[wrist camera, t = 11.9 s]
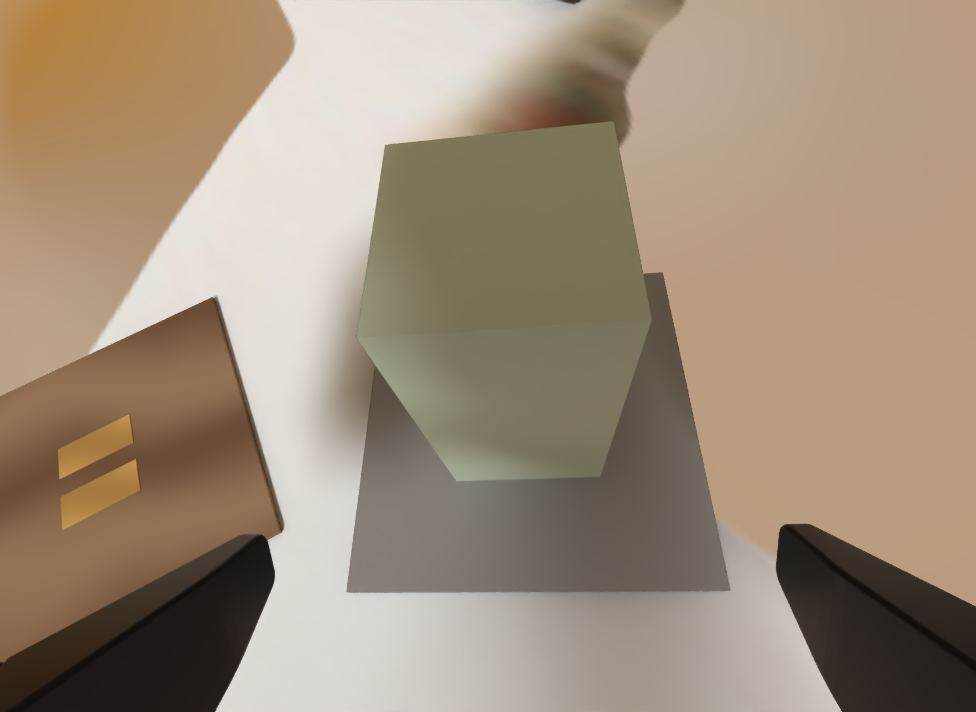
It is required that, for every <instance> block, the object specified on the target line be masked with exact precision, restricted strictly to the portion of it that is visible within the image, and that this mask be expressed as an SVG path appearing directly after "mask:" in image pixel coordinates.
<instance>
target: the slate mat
mask: <svg viewBox="0 0 976 712" xmlns="http://www.w3.org/2000/svg"><path fill="white" fill-rule="evenodd" d="M643 276H644V281H645V287H646V292H647V297H648V302H649V307H650V313H651V318H652V320H651V324H650V327H649V330H648V333H647V336H646V339H645V342H644V345H643V348H642V351H641V354H640V357H639V360H638V363H637V366H636V369H635V372H634V375H633V378H632V381H631V385H630V388H629V391H628V394H627V397H626V400H625V403H624V406H623V409H622V412H621V415H620V418H619V421H618V424H617V427H616V430H615V433H614V436H613V439H612V442H611V446H610V449H609V452H608V455H607V458H606V461H605V464H604V467H603V470H602V473H601V476H600V477H581V478H548V479H515V480H482V481H456V480H455V479H454V477H453V476H452V474H451V473H450V471H449V470H448V469H447V467H446V466H445V464H444V463H443V461H442V460H441V459H440V457H439V456H438V454H437V453H436V451H435V450H434V449H433V447H432V446H431V444H430V443H429V441H428V440H427V439H426V437H425V436H424V434H423V433H422V431H421V430H420V429H419V427H418V426H417V424H416V423H415V421H414V420H413V418H412V417H411V416H410V414H409V413H408V411H407V410H406V408H405V407H404V406H403V404H402V403H401V401H400V400H399V398H398V397H397V396H396V394H395V393H394V391H393V390H392V388H391V387H390V386H389V384H388V383H387V381H386V380H385V378H384V377H383V376H382V374H381V373H380V371H379V370H378V368H377V367H376V366H375V370H374V378H373V386H372V394H371V402H370V409H369V417H368V425H367V433H366V441H365V449H364V457H363V465H362V473H361V481H360V489H359V497H358V505H357V512H356V520H355V528H354V536H353V544H352V552H351V560H350V568H349V576H348V584H347V592H349V593H402V592H618V591H729V590H730V585H729V581H728V576H727V571H726V567H725V562H724V557H723V553H722V548H721V543H720V539H719V534H718V529H717V525H716V520H715V515H714V511H713V506H712V501H711V497H710V492H709V487H708V483H707V478H706V473H705V469H704V464H703V459H702V454H701V450H700V445H699V441H698V436H697V431H696V426H695V422H694V417H693V412H692V408H691V403H690V398H689V394H688V389H687V384H686V380H685V375H684V370H683V366H682V361H681V356H680V352H679V347H678V343H677V337H676V333H675V328H674V323H673V319H672V315H671V309H670V305H669V300H668V295H667V291H666V286H665V281H664V277H663V273H648V274H643Z"/></svg>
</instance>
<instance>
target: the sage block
mask: <svg viewBox="0 0 976 712" xmlns="http://www.w3.org/2000/svg"><path fill="white" fill-rule="evenodd" d="M651 320H652V318H651V313H650V307H649V302H648V297H647V292H646V287H645V281H644V276H643V271H642V266H641V261H640V255H639V250H638V245H637V240H636V235H635V229H634V225H633V219H632V214H631V208H630V203H629V198H628V193H627V187H626V183H625V177H624V172H623V167H622V161H621V156H620V151H619V146H618V141H617V135H616V130H615V125H614V121H610V122H601V123H591V124H582V125H572V126H562V127H553V128H543V129H534V130H524V131H514V132H505V133H495V134H485V135H476V136H466V137H457V138H447V139H437V140H428V141H418V142H409V143H399V144H389V145H385V149H384V156H383V163H382V169H381V176H380V183H379V189H378V196H377V203H376V209H375V216H374V223H373V230H372V236H371V243H370V250H369V256H368V263H367V270H366V276H365V283H364V290H363V296H362V303H361V310H360V316H359V323H358V330H357V336H356V338H357V340H358V341H359V343H360V344H361V345H362V347H363V348H364V350H365V351H366V353H367V354H368V355H369V357H370V358H371V360H372V361H373V363H374V364H375V366H376V367H377V368H378V370H379V371H380V373H381V374H382V376H383V377H384V378H385V380H386V381H387V383H388V384H389V386H390V387H391V388H392V390H393V391H394V393H395V394H396V396H397V397H398V398H399V400H400V401H401V403H402V404H403V406H404V407H405V408H406V410H407V411H408V413H409V414H410V416H411V417H412V418H413V420H414V421H415V423H416V424H417V426H418V427H419V429H420V430H421V431H422V433H423V434H424V436H425V437H426V439H427V440H428V441H429V443H430V444H431V446H432V447H433V449H434V450H435V451H436V453H437V454H438V456H439V457H440V459H441V460H442V461H443V463H444V464H445V466H446V467H447V469H448V470H449V471H450V473H451V474H452V476H453V477H454V479H455V480H456V481H482V480H515V479H548V478H581V477H600V476H601V473H602V470H603V467H604V464H605V461H606V458H607V455H608V452H609V449H610V446H611V442H612V439H613V436H614V433H615V430H616V427H617V424H618V421H619V418H620V415H621V412H622V409H623V406H624V403H625V400H626V397H627V394H628V391H629V388H630V385H631V381H632V378H633V375H634V372H635V369H636V366H637V363H638V360H639V357H640V354H641V351H642V348H643V345H644V342H645V339H646V336H647V333H648V330H649V327H650V324H651Z"/></svg>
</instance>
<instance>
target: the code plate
mask: <svg viewBox="0 0 976 712" xmlns="http://www.w3.org/2000/svg"><path fill="white" fill-rule="evenodd" d="M280 533H282V531H281V527H280V524H279V520H278V517H277V513H276V510H275V506H274V503H273V499H272V496H271V493H270V489H269V486H268V482H267V479H266V475H265V472H264V468H263V465H262V461H261V458H260V454H259V451H258V448H257V444H256V441H255V437H254V434H253V430H252V427H251V423H250V420H249V416H248V413H247V409H246V406H245V403H244V399H243V396H242V392H241V389H240V385H239V382H238V378H237V375H236V371H235V368H234V364H233V361H232V358H231V354H230V351H229V347H228V344H227V340H226V337H225V333H224V330H223V326H222V323H221V319H220V316H219V313H218V309H217V306H216V302H215V299H214V298H210V299H207V300H205V301H203V302H201V303H199V304H197V305H195V306H192V307H190V308H188V309H186V310H184V311H182V312H180V313H177V314H175V315H173V316H171V317H169V318H167V319H165V320H162V321H160V322H158V323H156V324H154V325H152V326H150V327H147V328H145V329H143V330H141V331H139V332H137V333H135V334H132V335H130V336H128V337H126V338H124V339H122V340H120V341H117V342H115V343H113V344H111V345H109V346H107V347H105V348H103V349H100V350H98V351H96V352H94V353H92V354H90V355H88V356H85V357H83V358H81V359H79V360H77V361H75V362H73V363H70V364H68V365H66V366H64V367H62V368H60V369H58V370H55V371H53V372H51V373H49V374H47V375H45V376H43V377H40V378H38V379H36V380H34V381H32V382H30V383H28V384H25V385H24V386H21V387H19V388H17V389H15V390H13V391H11V392H8V393H6V394H4V395H2V396H0V662H5V660H6V659H7V658H8V657H10V656H12V655H14V654H16V653H18V652H20V651H22V650H24V649H25V648H27V647H29V646H31V645H33V644H35V643H37V642H39V641H41V640H42V639H44V638H46V637H48V636H50V635H52V634H54V633H56V632H58V631H59V630H61V629H63V628H65V627H67V626H69V625H71V624H73V623H75V622H76V621H78V620H80V619H82V618H84V617H86V616H88V615H90V614H92V613H93V612H95V611H97V610H99V609H101V608H103V607H105V606H107V605H109V604H110V603H112V602H114V601H116V600H118V599H120V598H122V597H124V596H126V595H128V594H129V593H131V592H133V591H135V590H137V589H139V588H141V587H143V586H145V585H146V584H148V583H150V582H152V581H154V580H156V579H158V578H160V577H162V576H163V575H165V574H167V573H169V572H171V571H173V570H175V569H177V568H179V567H180V566H182V565H184V564H186V563H188V562H190V561H192V560H194V559H196V558H197V557H199V556H201V555H203V554H205V553H207V552H209V551H211V550H213V549H214V548H216V547H218V546H220V545H222V544H224V543H226V542H228V541H230V540H231V539H233V538H235V537H237V536H239V535H242V534H262V535H264V536H265V537H266V538H267V540H269V539H271V538H272V537H274V536H276V535H278V534H280Z"/></svg>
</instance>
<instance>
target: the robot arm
mask: <svg viewBox="0 0 976 712" xmlns="http://www.w3.org/2000/svg"><path fill="white" fill-rule="evenodd" d="M776 572H777V577H778V580H779V583H780V585H781V587H782V590H783V592H784V594H785V596H786V598H787V601H788V603H789V605H790V607H791V609H792V612H793V614H794V616H795V618H796V621H797V623H798V625H799V627H800V629H801V632H802V634H803V636H804V638H805V640H806V643H807V645H808V647H809V649H810V652H811V654H812V656H813V658H814V660H815V662H816V665H817V667H818V669H819V671H820V673H821V675H822V677H823V679H824V681H825V682H826V684H827V686H828V688H829V690H830V692H831V693H832V695H833V697H834V699H835V700H836V702H837V704H838V706H839V707H840V709H841V711H842V712H976V606H974V605H972V604H970V603H967V602H966V601H964V600H961V599H960V598H958V597H956V596H953V595H952V594H950V593H948V592H946V591H944V590H942V589H939V588H938V587H936V586H934V585H931V584H929V583H927V582H925V581H923V580H921V579H919V578H917V577H915V576H913V575H911V574H909V573H907V572H905V571H903V570H901V569H899V568H897V567H895V566H893V565H891V564H889V563H887V562H885V561H883V560H881V559H879V558H877V557H875V556H873V555H871V554H869V553H867V552H865V551H863V550H861V549H859V548H857V547H855V546H853V545H851V544H849V543H847V542H844V541H843V540H841V539H839V538H837V537H835V536H833V535H831V534H829V533H827V532H825V531H823V530H821V529H819V528H817V527H815V526H813V525H810V524H786V525H784V526H782V527H781V529H780V532H779V539H778V550H777V561H776ZM274 580H275V570H274V566H273V561H272V557H271V553H270V548H269V544H268V541H267V538H266V537H265V536H264V535H262V534H242V535H239V536H237V537H235V538H233V539H231V540H230V541H228V542H226V543H224V544H222V545H220V546H218V547H216V548H214V549H213V550H211V551H209V552H207V553H205V554H203V555H201V556H199V557H197V558H196V559H194V560H192V561H190V562H188V563H186V564H184V565H182V566H180V567H179V568H177V569H175V570H173V571H171V572H169V573H167V574H165V575H163V576H162V577H160V578H158V579H156V580H154V581H152V582H150V583H148V584H146V585H145V586H143V587H141V588H139V589H137V590H135V591H133V592H131V593H129V594H128V595H126V596H124V597H122V598H120V599H118V600H116V601H114V602H112V603H110V604H109V605H107V606H105V607H103V608H101V609H99V610H97V611H95V612H93V613H92V614H90V615H88V616H86V617H84V618H82V619H80V620H78V621H76V622H75V623H73V624H71V625H69V626H67V627H65V628H63V629H61V630H59V631H58V632H56V633H54V634H52V635H50V636H48V637H46V638H44V639H42V640H41V641H39V642H37V643H35V644H33V645H31V646H29V647H27V648H25V649H24V650H22V651H20V652H18V653H16V654H14V655H12V656H10V657H8V658H7V659H6V660H5V662H0V712H215V711H216V709H217V707H218V705H219V703H220V702H221V700H222V698H223V696H224V694H225V692H226V690H227V688H228V687H229V685H230V683H231V681H232V679H233V677H234V675H235V673H236V671H237V669H238V667H239V664H240V662H241V660H242V658H243V656H244V653H245V651H246V649H247V646H248V644H249V642H250V639H251V637H252V634H253V632H254V630H255V627H256V625H257V623H258V620H259V618H260V616H261V613H262V611H263V608H264V606H265V604H266V601H267V599H268V597H269V594H270V592H271V590H272V587H273V584H274Z"/></svg>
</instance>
